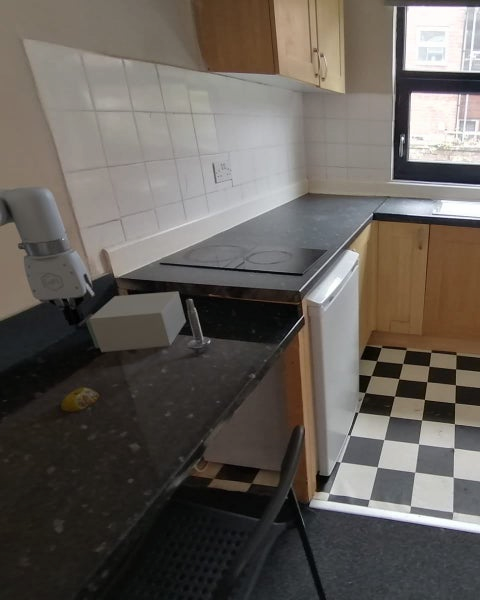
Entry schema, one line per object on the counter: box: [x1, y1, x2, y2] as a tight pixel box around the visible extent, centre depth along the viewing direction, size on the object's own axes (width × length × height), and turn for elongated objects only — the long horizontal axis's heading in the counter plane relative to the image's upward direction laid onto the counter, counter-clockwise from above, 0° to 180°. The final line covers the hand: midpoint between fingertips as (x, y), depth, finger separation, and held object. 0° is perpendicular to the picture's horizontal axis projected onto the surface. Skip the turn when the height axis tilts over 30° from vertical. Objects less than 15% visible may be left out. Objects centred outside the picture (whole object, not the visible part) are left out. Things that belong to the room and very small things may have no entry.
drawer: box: [74, 313, 100, 349], centre depth 96 cm, size 18×11×7 cm, turn 101°
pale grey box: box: [89, 290, 187, 353], centre depth 96 cm, size 15×13×9 cm
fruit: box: [60, 386, 100, 412], centre depth 73 cm, size 8×8×4 cm
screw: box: [185, 298, 212, 354], centre depth 89 cm, size 13×5×5 cm
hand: (76, 322), depth 94 cm, fingers closed
